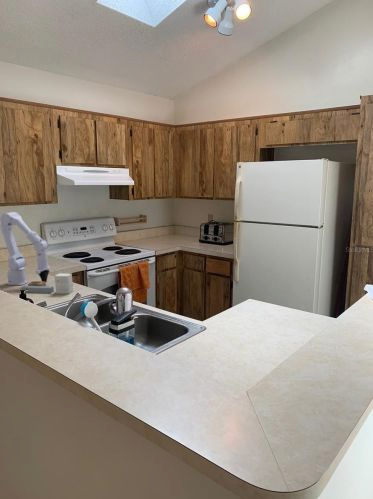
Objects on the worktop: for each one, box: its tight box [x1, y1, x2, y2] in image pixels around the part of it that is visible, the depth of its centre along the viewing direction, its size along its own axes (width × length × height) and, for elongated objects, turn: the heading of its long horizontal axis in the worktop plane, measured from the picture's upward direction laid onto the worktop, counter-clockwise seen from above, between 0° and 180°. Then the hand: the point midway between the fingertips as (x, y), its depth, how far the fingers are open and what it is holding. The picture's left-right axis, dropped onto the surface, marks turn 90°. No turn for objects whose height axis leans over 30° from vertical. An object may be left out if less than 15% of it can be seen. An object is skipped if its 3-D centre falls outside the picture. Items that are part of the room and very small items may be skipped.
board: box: [20, 285, 55, 294], centre depth 217 cm, size 18×3×3 cm, turn 83°
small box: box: [54, 273, 74, 295], centre depth 215 cm, size 8×6×10 cm
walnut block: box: [27, 280, 47, 286], centre depth 222 cm, size 8×6×4 cm
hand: (44, 282), depth 231 cm, fingers closed
